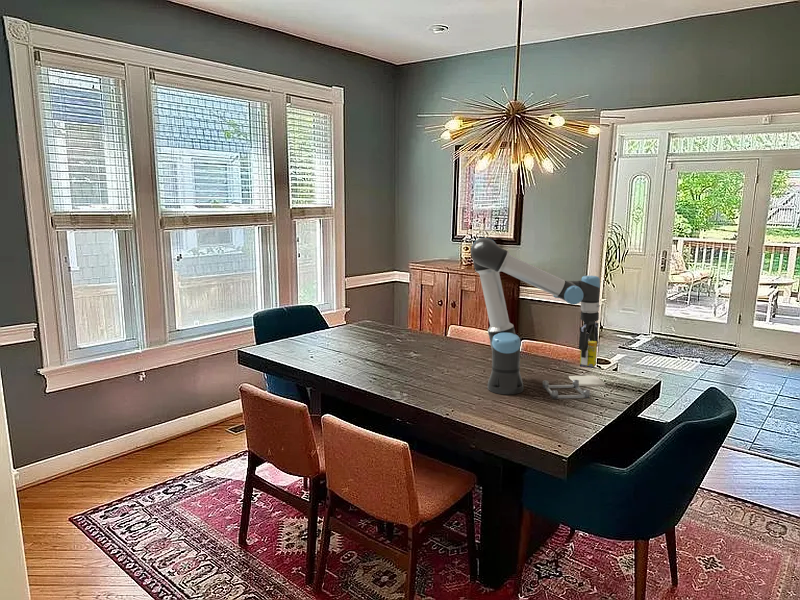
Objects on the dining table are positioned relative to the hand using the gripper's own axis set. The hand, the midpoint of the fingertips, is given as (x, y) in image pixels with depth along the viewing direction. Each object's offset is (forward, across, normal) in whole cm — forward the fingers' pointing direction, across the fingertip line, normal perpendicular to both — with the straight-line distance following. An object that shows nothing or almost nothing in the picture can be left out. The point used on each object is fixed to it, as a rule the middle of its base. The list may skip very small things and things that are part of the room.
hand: (587, 362), depth 242 cm
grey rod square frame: (+9, -20, 0) cm, 22 cm away
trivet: (+9, 0, 0) cm, 9 cm away
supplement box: (+2, 0, 0) cm, 2 cm away
